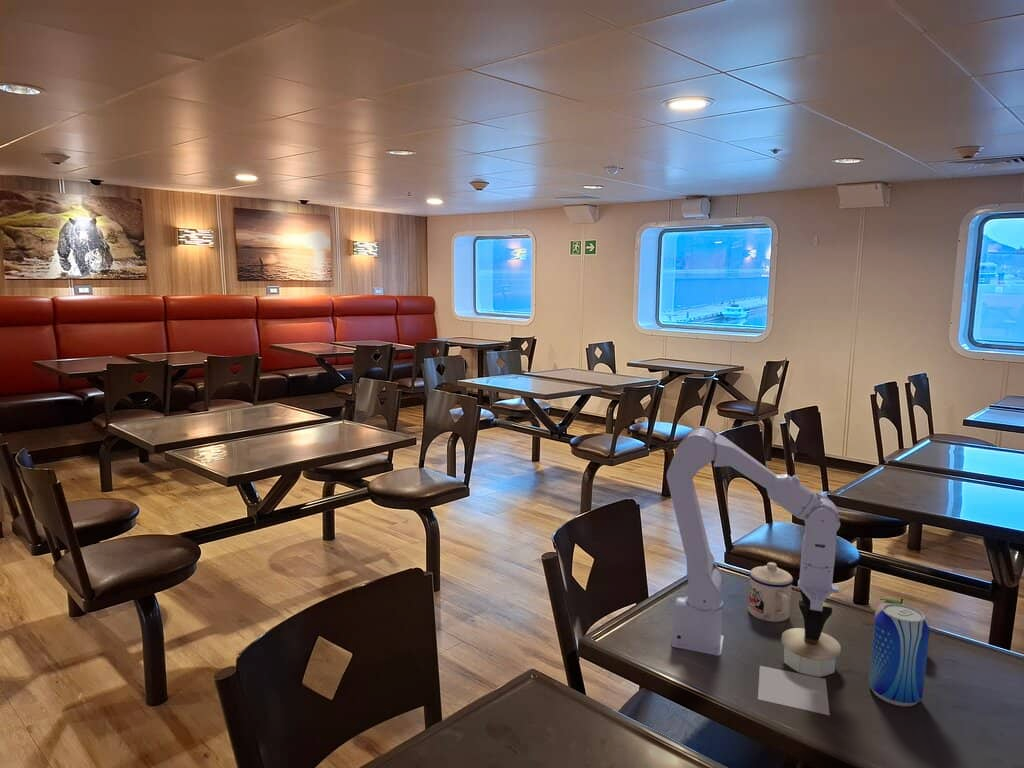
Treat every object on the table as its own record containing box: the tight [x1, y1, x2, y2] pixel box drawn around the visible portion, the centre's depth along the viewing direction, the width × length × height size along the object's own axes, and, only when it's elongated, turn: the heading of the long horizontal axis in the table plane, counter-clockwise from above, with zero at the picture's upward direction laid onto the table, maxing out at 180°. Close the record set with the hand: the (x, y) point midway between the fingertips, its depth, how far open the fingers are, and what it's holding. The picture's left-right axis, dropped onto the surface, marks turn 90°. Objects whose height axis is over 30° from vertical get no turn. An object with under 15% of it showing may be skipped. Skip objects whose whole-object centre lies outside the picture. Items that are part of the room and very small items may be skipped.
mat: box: [757, 665, 831, 716], centre depth 124 cm, size 12×12×1 cm
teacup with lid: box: [747, 562, 794, 623], centre depth 151 cm, size 12×9×12 cm
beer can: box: [868, 604, 931, 707], centre depth 122 cm, size 8×8×16 cm
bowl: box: [783, 646, 837, 678], centre depth 132 cm, size 9×9×4 cm
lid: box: [781, 627, 842, 660], centre depth 132 cm, size 10×10×5 cm
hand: (811, 629), depth 131 cm, fingers open, 7 cm apart
